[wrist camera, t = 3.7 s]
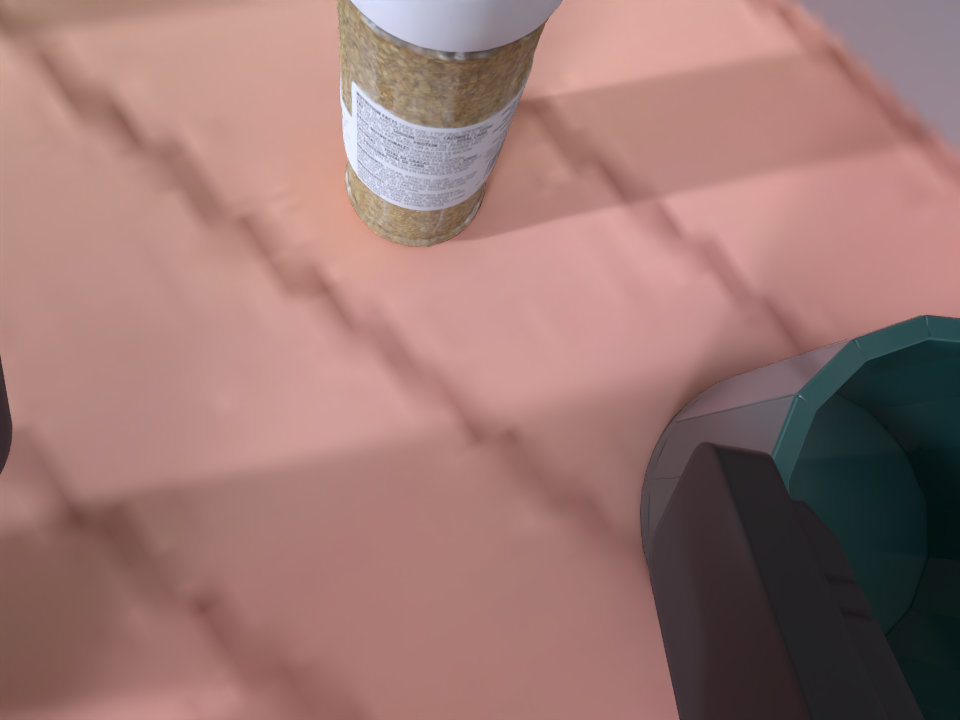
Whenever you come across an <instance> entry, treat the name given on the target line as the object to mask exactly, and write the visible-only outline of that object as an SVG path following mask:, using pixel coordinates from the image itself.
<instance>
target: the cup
mask: <svg viewBox="0 0 960 720" xmlns="http://www.w3.org/2000/svg"><path fill="white" fill-rule="evenodd" d="M702 442H711V443H717V444H723V445H729V446H735V447H741V448H746V449H752V450H758V451H763V452H767V453H768V454H769V455H770V456H771V457H772V458H773V460H774V462H775V464H776V466H777V468H778V471H779V473H780V475H781V477H782V480H783V482H784V484H785V486H786V489H787V491H788V493H789V495H790V498H791V500H796V501H802V502H805V503H806V504H807V505H808V506H809V507H810V508H811V509H812V510H813V512H814V513H815V514H816V515H817V516H818V517H819V518H820V519H821V520H822V522H823V523H824V524H825V525H826V526H827V527H828V528H829V529H830V530H831V532H832V533H833V534H834V535H835V536H836V537H837V538H838V540H839V542H840V545H841V547H842V549H843V551H844V553H845V555H846V557H847V559H848V561H849V563H850V565H851V567H852V569H853V572H854V574H855V576H856V580H855V583H856V585H860V586H861V588H862V590H863V592H864V594H865V596H866V599H867V601H868V603H869V605H870V607H871V609H872V613H871V617H872V619H877V621H878V623H879V626H880V628H881V630H882V632H883V634H884V636H885V638H886V640H887V642H888V644H889V646H890V648H891V650H892V653H893V655H894V657H895V659H896V661H897V663H898V665H899V667H900V669H901V671H902V673H903V675H904V677H905V680H906V682H907V684H908V686H909V688H910V690H911V692H912V694H913V696H914V698H915V700H916V702H917V704H918V707H919V709H920V711H921V713H922V715H923V717H924V719H925V720H960V318H952V317H943V316H933V315H923V316H917V317H914V318H911V319H908V320H905V321H902V322H898V323H895V324H892V325H889V326H886V327H883V328H880V329H877V330H874V331H871V332H868V333H864V334H861V335H858V336H855V337H852V338H849V339H846V340H843V341H840V342H837V343H833V344H830V345H827V346H824V347H821V348H818V349H815V350H812V351H809V352H806V353H803V354H799V355H796V356H793V357H790V358H787V359H784V360H781V361H778V362H775V363H772V364H769V365H766V366H763V367H760V368H757V369H754V370H751V371H748V372H745V373H742V374H739V375H736V376H733V377H730V378H728V379H725V380H722V381H719V382H718V383H716V384H715V385H713V386H711V387H710V388H708V389H706V390H705V391H703V392H701V393H700V394H699V395H697V396H696V397H695V398H694V399H693V400H691V401H690V402H689V403H688V404H686V405H685V406H684V408H683V409H682V410H681V411H680V412H679V413H678V414H677V415H676V416H675V417H674V418H673V420H672V421H671V423H670V424H669V425H668V427H667V428H666V430H665V431H664V433H663V434H662V436H661V438H660V440H659V442H658V444H657V445H656V447H655V449H654V451H653V454H652V457H651V460H650V462H649V465H648V468H647V471H646V475H645V480H644V484H643V489H642V498H641V510H640V514H641V534H642V541H643V547H644V553H645V556H646V560H647V563H648V567H649V561H650V550H651V544H652V539H653V536H654V532H655V530H656V527H657V525H658V523H659V521H660V519H661V517H662V515H663V512H664V510H665V508H666V506H667V504H668V502H669V500H670V498H671V496H672V494H673V492H674V490H675V488H676V485H677V483H678V481H679V479H680V477H681V475H682V473H683V471H684V469H685V467H686V465H687V463H688V461H689V459H690V456H691V455H692V453H693V451H694V450H695V448H696V447H697V446H698V445H699V444H700V443H702Z"/></svg>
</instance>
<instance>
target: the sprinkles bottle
mask: <svg viewBox="0 0 960 720" xmlns="http://www.w3.org/2000/svg"><path fill="white" fill-rule="evenodd" d="M561 2H562V0H337V9H338V19H339V27H338V29H339V35H340V44H339V53H340V58H341V80H340V98H341V112H342V126H343V138H344V145H345V150H346V153H347V165H346V171H345V185H346V189H347V192H348V196H349V199H350V202H351V204H352V205H353V207H354V209H355V211H356V213H357V214H358V216H359V217H360V218H361V219H362V220H363V222H364V223H365V224H366V225H367V226H368V227H369V228H370V229H371V230H372V231H373V232H374V233H375V234H377V235H379V236H381V237H383V238H386V239H388V240H390V241H392V242H395V243H398V244H402V245H406V246H414V247H418V246H428V247H429V246H432V245H434V244H438V243H442V242H444V241H447V240H449V239H450V238H452V237H454V236H456V235H457V234H459V233H460V232H461V231H462V230H463V229H465V228H466V227H467V226H468V225H469V224H470V222H471V221H472V220H473V219H474V217H475V215H476V213H477V211H478V209H479V208H480V206H481V202H482V199H483V196H484V193H485V186H486V182H485V181H486V179H487V178H488V177H489V175H490V173H491V171H492V169H493V167H494V165H495V162H496V160H497V157H498V155H499V152H500V150H501V147H502V144H503V142H504V139H505V137H506V134H507V131H508V129H509V126H510V123H511V121H512V118H513V115H514V113H515V110H516V108H517V105H518V102H519V100H520V97H521V95H522V92H523V90H524V87H525V84H526V82H527V79H528V77H529V74H530V71H531V67H532V63H533V57H534V52H535V49H536V47H537V44H538V41H539V38H540V35H541V33H542V31H543V28H544V26H545V23H546V22H547V20H548V19H549V17H550V16H551V15H552V13H553V12H554V11H555V10H556V9H557V8H558V6H559V5H560V3H561Z"/></svg>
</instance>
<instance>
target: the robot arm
mask: <svg viewBox="0 0 960 720" xmlns="http://www.w3.org/2000/svg"><path fill="white" fill-rule="evenodd" d="M11 441H12V421H11V415H10V409H9V403H8V397H7V392H6V386H5V380H4V374H3V368H2V363H1V357H0V474H1V472H2V470H3V468H4V466H5V463H6V461H7V458H8V455H9V451H10V447H11ZM649 571H650V580H651V585H652V590H653V595H654V600H655V604H656V609H657V614H658V619H659V624H660V628H661V633H662V638H663V643H664V647H665V652H666V657H667V662H668V667H669V671H670V676H671V681H672V686H673V690H674V695H675V700H676V705H677V709H678V714H679V719H680V720H925V719H924V717H923V715H922V713H921V711H920V709H919V707H918V704H917V702H916V700H915V698H914V696H913V694H912V692H911V690H910V688H909V686H908V684H907V682H906V680H905V677H904V675H903V673H902V671H901V669H900V667H899V665H898V663H897V661H896V659H895V657H894V655H893V653H892V650H891V648H890V646H889V644H888V642H887V640H886V638H885V636H884V634H883V632H882V630H881V628H880V626H879V623H878V621H877V619H872V617H871V613H872V609H871V607H870V605H869V603H868V601H867V599H866V596H865V594H864V592H863V590H862V588H861V586H860V585H856V583H855V580H856V576H855V574H854V572H853V569H852V567H851V565H850V563H849V561H848V559H847V557H846V555H845V553H844V551H843V549H842V547H841V545H840V542H839V540H838V538H837V537H836V536H835V535H834V534H833V533H832V532H831V530H830V529H829V528H828V527H827V526H826V525H825V524H824V523H823V522H822V520H821V519H820V518H819V517H818V516H817V515H816V514H815V513H814V512H813V510H812V509H811V508H810V507H809V506H808V505H807V504H806V503H805V502H802V501H796V500H791V498H790V495H789V493H788V491H787V489H786V486H785V484H784V482H783V480H782V477H781V475H780V473H779V471H778V468H777V466H776V464H775V462H774V460H773V458H772V457H771V456H770V455H769V454H768V453H767V452H763V451H758V450H752V449H746V448H741V447H735V446H729V445H723V444H717V443H711V442H702V443H700V444H699V445H698V446H697V447H696V448H695V450H694V451H693V453H692V455H691V456H690V459H689V461H688V463H687V465H686V467H685V469H684V471H683V473H682V475H681V477H680V479H679V481H678V483H677V485H676V488H675V490H674V492H673V494H672V496H671V498H670V500H669V502H668V504H667V506H666V508H665V510H664V512H663V515H662V517H661V519H660V521H659V523H658V525H657V527H656V530H655V532H654V536H653V539H652V544H651V550H650V561H649Z"/></svg>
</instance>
